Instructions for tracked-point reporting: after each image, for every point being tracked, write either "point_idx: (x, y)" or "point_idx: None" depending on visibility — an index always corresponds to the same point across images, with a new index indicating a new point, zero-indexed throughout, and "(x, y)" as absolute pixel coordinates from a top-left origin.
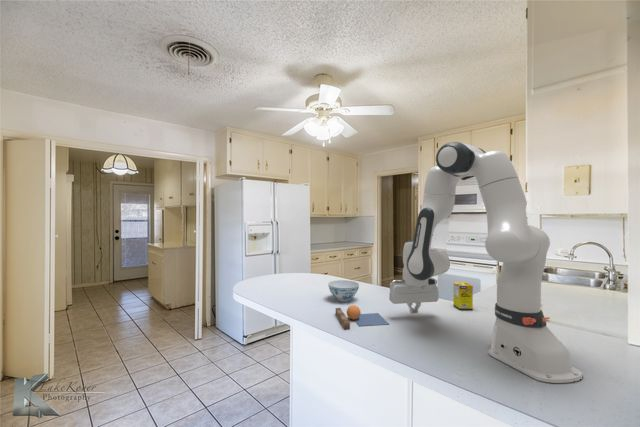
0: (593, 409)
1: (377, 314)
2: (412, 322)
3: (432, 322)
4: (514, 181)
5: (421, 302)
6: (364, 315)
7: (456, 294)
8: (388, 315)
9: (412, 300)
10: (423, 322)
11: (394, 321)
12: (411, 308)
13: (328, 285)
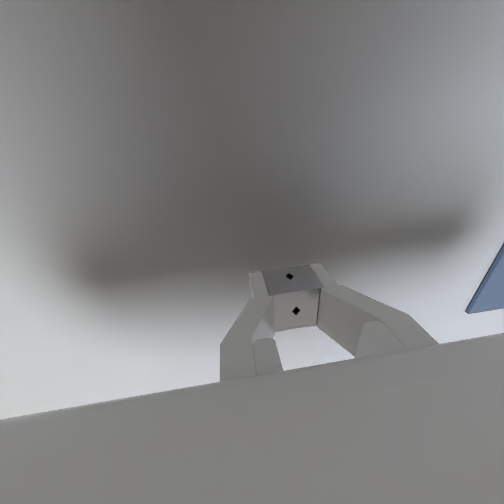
0: None
1: (492, 293)
2: (354, 132)
3: (135, 111)
4: None
5: (215, 383)
6: None
7: None
8: (431, 286)
9: (478, 397)
10: (242, 122)
11: (484, 171)
12: (348, 292)
13: None
